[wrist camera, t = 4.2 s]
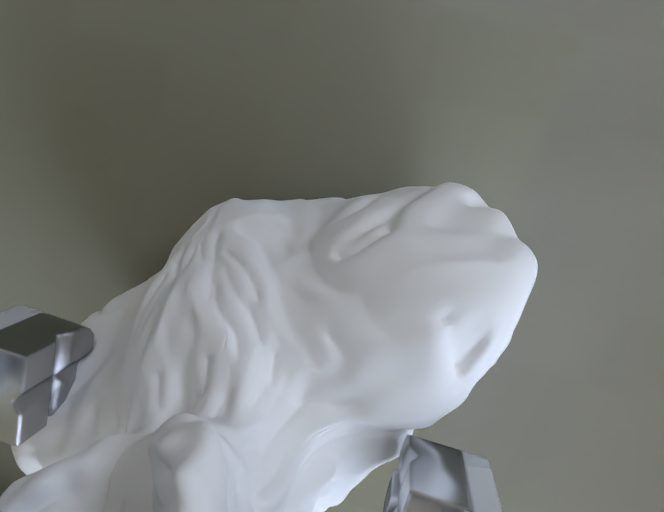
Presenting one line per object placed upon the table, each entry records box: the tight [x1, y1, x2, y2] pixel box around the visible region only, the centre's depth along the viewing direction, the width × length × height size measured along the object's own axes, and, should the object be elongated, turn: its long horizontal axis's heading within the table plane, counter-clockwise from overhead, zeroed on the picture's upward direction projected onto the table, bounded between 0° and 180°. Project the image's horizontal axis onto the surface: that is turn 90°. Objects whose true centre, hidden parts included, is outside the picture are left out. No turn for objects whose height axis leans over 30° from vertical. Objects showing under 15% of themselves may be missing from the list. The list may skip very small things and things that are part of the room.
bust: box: [0, 182, 538, 512], centre depth 9 cm, size 12×8×11 cm
